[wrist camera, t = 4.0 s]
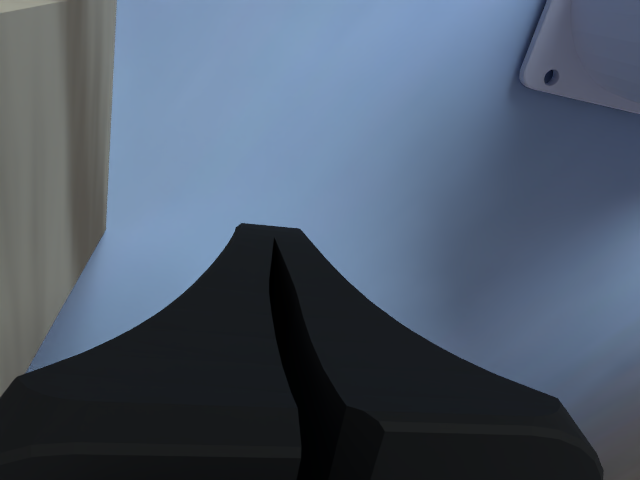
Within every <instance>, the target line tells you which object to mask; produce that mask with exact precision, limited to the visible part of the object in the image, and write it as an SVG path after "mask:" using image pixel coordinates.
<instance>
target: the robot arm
mask: <svg viewBox="0 0 640 480" xmlns="http://www.w3.org/2000/svg"><path fill="white" fill-rule="evenodd" d="M550 70H553V77H552V79H551V80H550V81H549V82H547V83H545V82H544V77H545V75H546V73H547V72H548V71H550ZM519 77H520V81H521V83H522V84H523V85H524V86H526V87H528V88H530V89H533V90H538V91H542V92H546V93H550V94H555V95H559V96H563V97H568V98H572V99H576V100H581V101H585V102H589V103H594V104H598V105H602V106H606V107H611V108H615V109H619V110H624V111H628V112H632V113H637V114H640V0H547V2H546V4H545V7H544V10H543V12H542V15H541V17H540V20H539V22H538V25H537V28H536V30H535V33H534V35H533V38H532V41H531V43H530V46H529V48H528V51H527V54H526V56H525V59H524V61H523V64H522V67H521V69H520V74H519ZM0 480H603V468H602V466H601V463H600V461H599V458H598V455H597V453H596V452H595V450H594V449H593V447H592V446H591V445H590V443H589V442H588V440H587V439H586V437H585V436H584V435H583V433H582V432H581V430H580V429H579V428H578V426H577V425H576V423H575V422H574V420H573V419H572V418H571V416H570V415H569V413H568V412H567V410H566V409H565V408H564V406H563V405H562V403H561V402H560V401H559V399H558V398H555V397H553V396H550V395H548V394H545V393H542V392H540V391H537V390H535V389H532V388H529V387H527V386H524V385H522V384H519V383H516V382H514V381H511V380H509V379H506V378H503V377H501V376H498V375H496V374H494V373H491V372H489V371H487V370H485V369H483V368H481V367H478V366H476V365H474V364H472V363H470V362H468V361H466V360H464V359H461V358H459V357H457V356H456V355H454V354H452V353H450V352H448V351H446V350H444V349H442V348H440V347H438V346H437V345H435V344H433V343H432V342H430V341H428V340H427V339H425V338H423V337H422V336H420V335H418V334H416V333H415V332H413V331H411V330H410V329H408V328H407V327H405V326H404V325H402V324H401V323H399V322H398V321H396V320H395V319H394V318H392V317H391V316H390V315H388V314H387V313H385V312H384V311H383V310H381V309H380V308H379V307H377V306H376V305H375V304H373V303H372V302H371V301H370V300H369V299H367V298H366V297H365V296H364V295H363V294H362V293H360V292H359V291H358V290H357V289H356V288H355V287H354V286H353V285H352V284H350V283H349V282H348V281H347V280H346V279H345V278H344V277H343V276H342V275H341V274H340V273H339V272H338V271H337V270H336V269H335V268H334V267H333V266H332V265H331V264H330V262H329V261H328V260H327V259H326V258H325V257H324V256H323V255H322V254H321V253H320V251H319V250H318V249H317V248H316V247H315V246H314V245H313V243H312V242H311V241H310V240H309V239H308V237H307V236H306V235H305V234H304V233H303V232H302V231H301V230H300V229H298V228H287V227H277V226H266V225H256V224H245V223H241V224H240V225H239V226H237V227H236V229H235V232H234V234H233V236H232V238H231V239H230V241H229V243H228V244H227V246H226V247H225V248H224V250H223V251H222V252H221V254H220V255H219V256H218V257H217V259H216V260H215V261H214V263H213V264H212V265H211V266H210V267H209V268H208V269H207V270H206V271H205V272H204V273H203V274H202V276H201V277H200V278H199V279H198V280H197V281H196V282H195V283H194V284H193V285H192V286H191V287H190V288H188V289H187V290H186V291H185V292H184V293H183V294H182V295H180V296H179V297H178V298H177V299H176V300H174V301H173V302H172V303H171V304H169V305H168V306H167V307H165V308H164V309H163V310H161V311H160V312H158V313H157V314H155V315H154V316H152V317H151V318H149V319H147V320H146V321H144V322H143V323H141V324H140V325H138V326H136V327H135V328H133V329H131V330H129V331H127V332H125V333H123V334H121V335H120V336H118V337H116V338H114V339H112V340H110V341H107V342H105V343H103V344H101V345H99V346H97V347H94V348H92V349H90V350H88V351H85V352H83V353H81V354H78V355H76V356H73V357H70V358H67V359H65V360H62V361H59V362H57V363H54V364H51V365H48V366H46V367H43V368H40V369H38V370H35V371H32V372H29V373H26V374H23V375H20V376H17V377H16V378H15V379H14V380H13V381H12V383H11V384H10V385H9V387H8V388H7V389H6V391H5V392H4V393H3V394H2V396H1V397H0Z"/></svg>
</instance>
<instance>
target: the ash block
mask: <svg viewBox="0 0 640 480" xmlns="http://www.w3.org/2000/svg"><path fill="white" fill-rule="evenodd" d="M116 6H117V0H0V397H1V396H2V394H3V393H4V392H5V391H6V389H7V388H8V387H9V385H10V384H11V383H12V381H13V380H14V379H15V378H16V377H17V376H20V375H23V374H25V373H26V371H27V369H28V367H29V366H30V364H31V362H32V360H33V358H34V357H35V355H36V353H37V351H38V350H39V348H40V346H41V344H42V342H43V341H44V339H45V337H46V335H47V333H48V332H49V330H50V328H51V326H52V325H53V323H54V321H55V319H56V317H57V316H58V314H59V312H60V310H61V308H62V307H63V305H64V303H65V301H66V300H67V298H68V296H69V294H70V292H71V291H72V289H73V287H74V285H75V284H76V282H77V280H78V278H79V276H80V275H81V273H82V271H83V269H84V267H85V266H86V264H87V262H88V260H89V259H90V257H91V255H92V253H93V251H94V250H95V248H96V246H97V244H98V242H99V241H100V239H101V237H102V235H103V234H104V232H105V230H106V214H107V194H108V173H109V152H110V131H111V110H112V89H113V68H114V47H115V26H116Z"/></svg>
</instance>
